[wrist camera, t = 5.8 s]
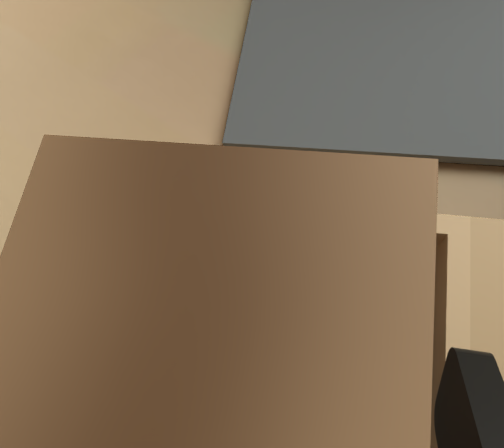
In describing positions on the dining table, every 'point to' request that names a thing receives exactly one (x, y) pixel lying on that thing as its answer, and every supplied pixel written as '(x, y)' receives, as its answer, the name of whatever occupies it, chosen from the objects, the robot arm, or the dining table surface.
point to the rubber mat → (373, 79)
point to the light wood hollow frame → (467, 292)
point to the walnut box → (218, 298)
